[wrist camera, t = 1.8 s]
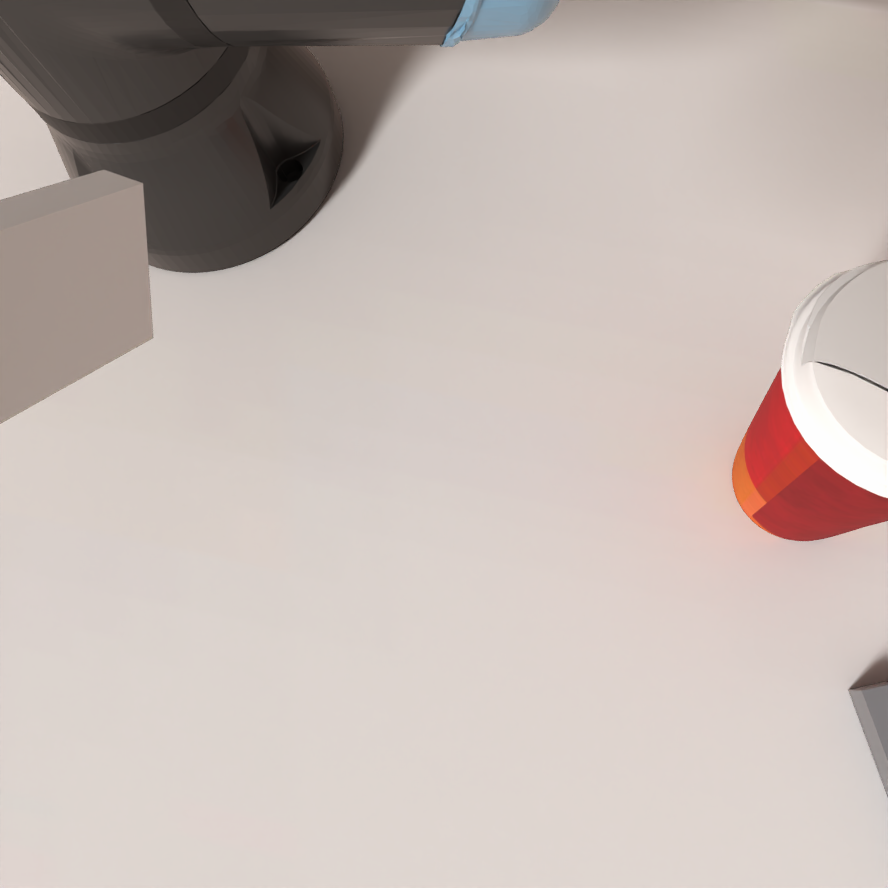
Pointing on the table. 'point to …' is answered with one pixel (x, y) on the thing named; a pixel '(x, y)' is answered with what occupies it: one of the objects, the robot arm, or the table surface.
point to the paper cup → (824, 416)
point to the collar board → (874, 722)
